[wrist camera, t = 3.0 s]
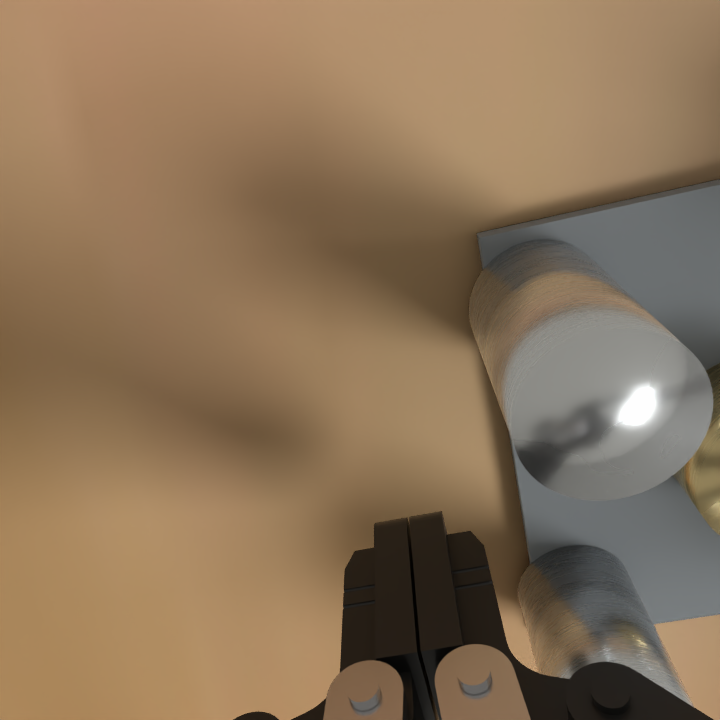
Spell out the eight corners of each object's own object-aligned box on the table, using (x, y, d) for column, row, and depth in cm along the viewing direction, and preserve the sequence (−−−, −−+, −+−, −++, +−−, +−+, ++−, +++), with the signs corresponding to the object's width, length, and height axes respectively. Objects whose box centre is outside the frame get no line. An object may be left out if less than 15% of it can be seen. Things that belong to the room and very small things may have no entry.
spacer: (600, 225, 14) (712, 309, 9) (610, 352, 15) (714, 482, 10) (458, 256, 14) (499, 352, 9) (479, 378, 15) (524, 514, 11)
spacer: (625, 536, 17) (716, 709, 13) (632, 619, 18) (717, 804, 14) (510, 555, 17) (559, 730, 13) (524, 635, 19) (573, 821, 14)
